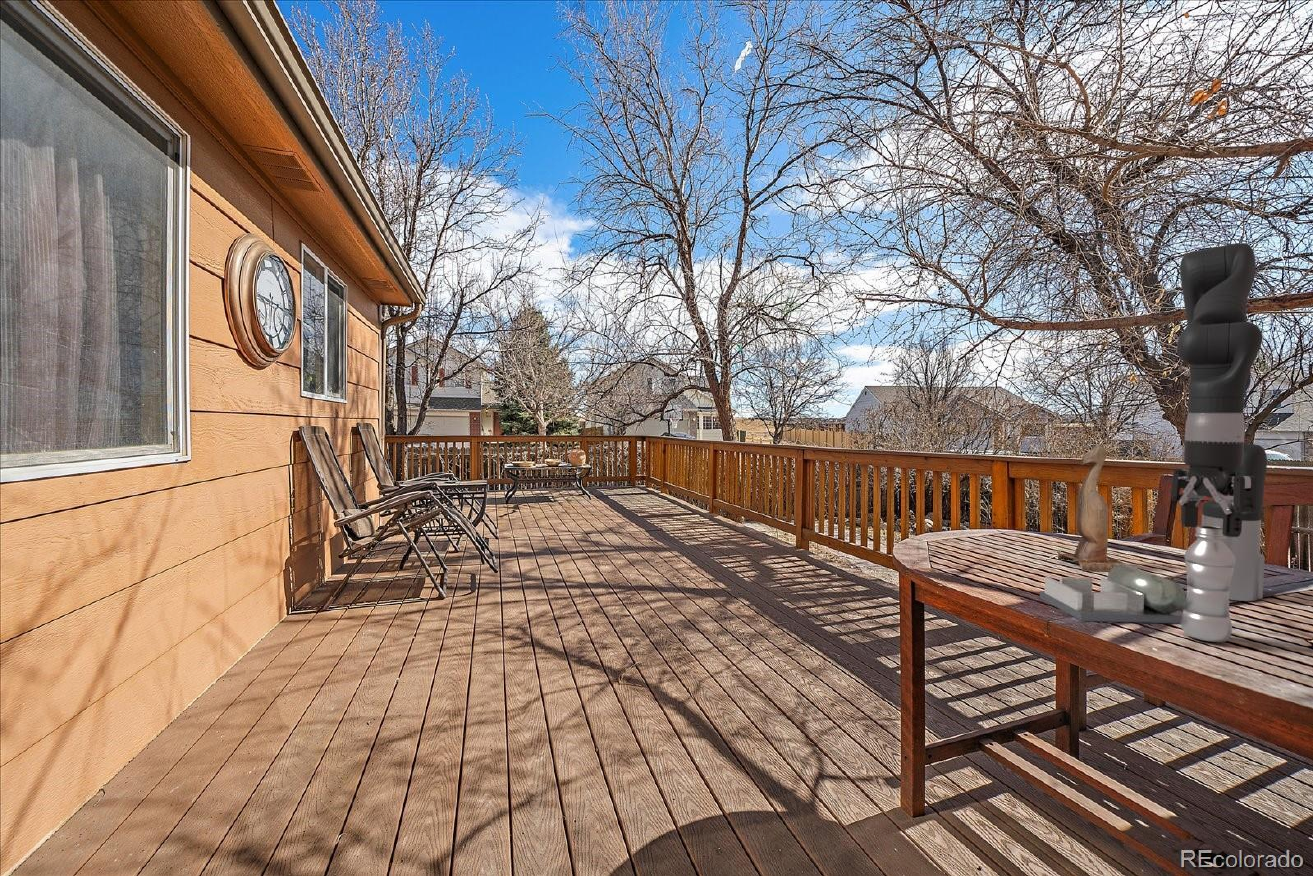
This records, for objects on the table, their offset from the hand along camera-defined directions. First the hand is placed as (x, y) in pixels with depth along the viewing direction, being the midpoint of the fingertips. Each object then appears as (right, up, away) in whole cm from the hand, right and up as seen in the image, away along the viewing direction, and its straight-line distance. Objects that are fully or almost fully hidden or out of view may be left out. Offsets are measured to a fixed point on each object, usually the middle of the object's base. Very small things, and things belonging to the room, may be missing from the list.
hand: (1209, 531), depth 104 cm
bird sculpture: (+16, -17, +50) cm, 55 cm away
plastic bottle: (0, -20, +1) cm, 20 cm away
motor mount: (-5, -19, +16) cm, 25 cm away
